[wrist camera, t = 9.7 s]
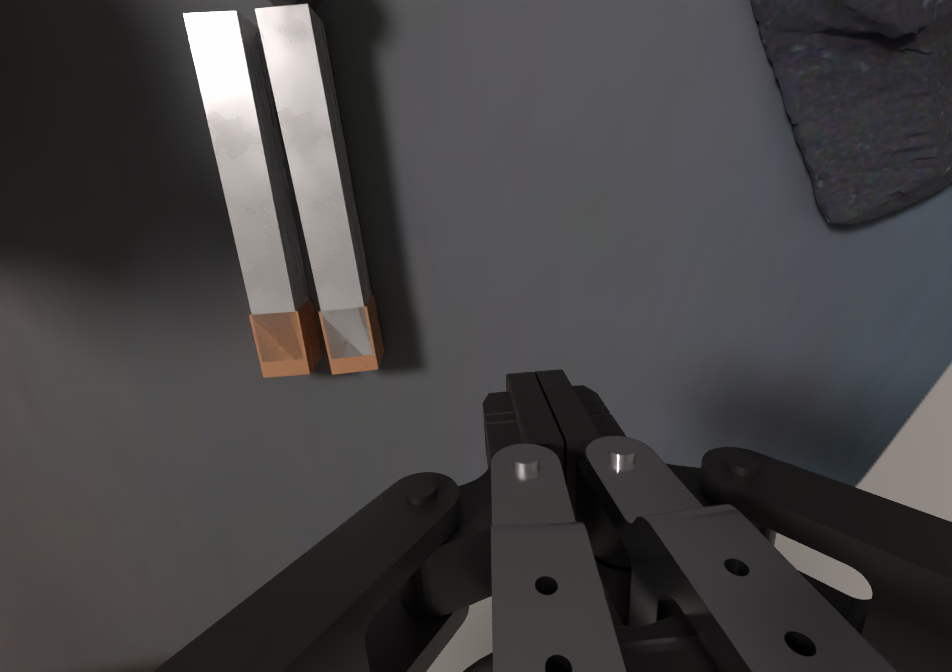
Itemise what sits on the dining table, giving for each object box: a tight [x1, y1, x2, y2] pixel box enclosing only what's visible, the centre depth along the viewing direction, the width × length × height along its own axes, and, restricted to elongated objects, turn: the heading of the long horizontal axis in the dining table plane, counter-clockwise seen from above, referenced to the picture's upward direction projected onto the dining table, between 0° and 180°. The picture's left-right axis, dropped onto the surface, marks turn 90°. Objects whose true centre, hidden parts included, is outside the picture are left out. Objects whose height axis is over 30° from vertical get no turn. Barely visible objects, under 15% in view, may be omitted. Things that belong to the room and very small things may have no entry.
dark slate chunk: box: [751, 0, 952, 225], centre depth 25 cm, size 15×22×5 cm
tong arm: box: [255, 4, 384, 375], centre depth 27 cm, size 19×3×3 cm, turn 6°
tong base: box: [183, 0, 322, 378], centre depth 26 cm, size 22×6×4 cm, turn 3°
